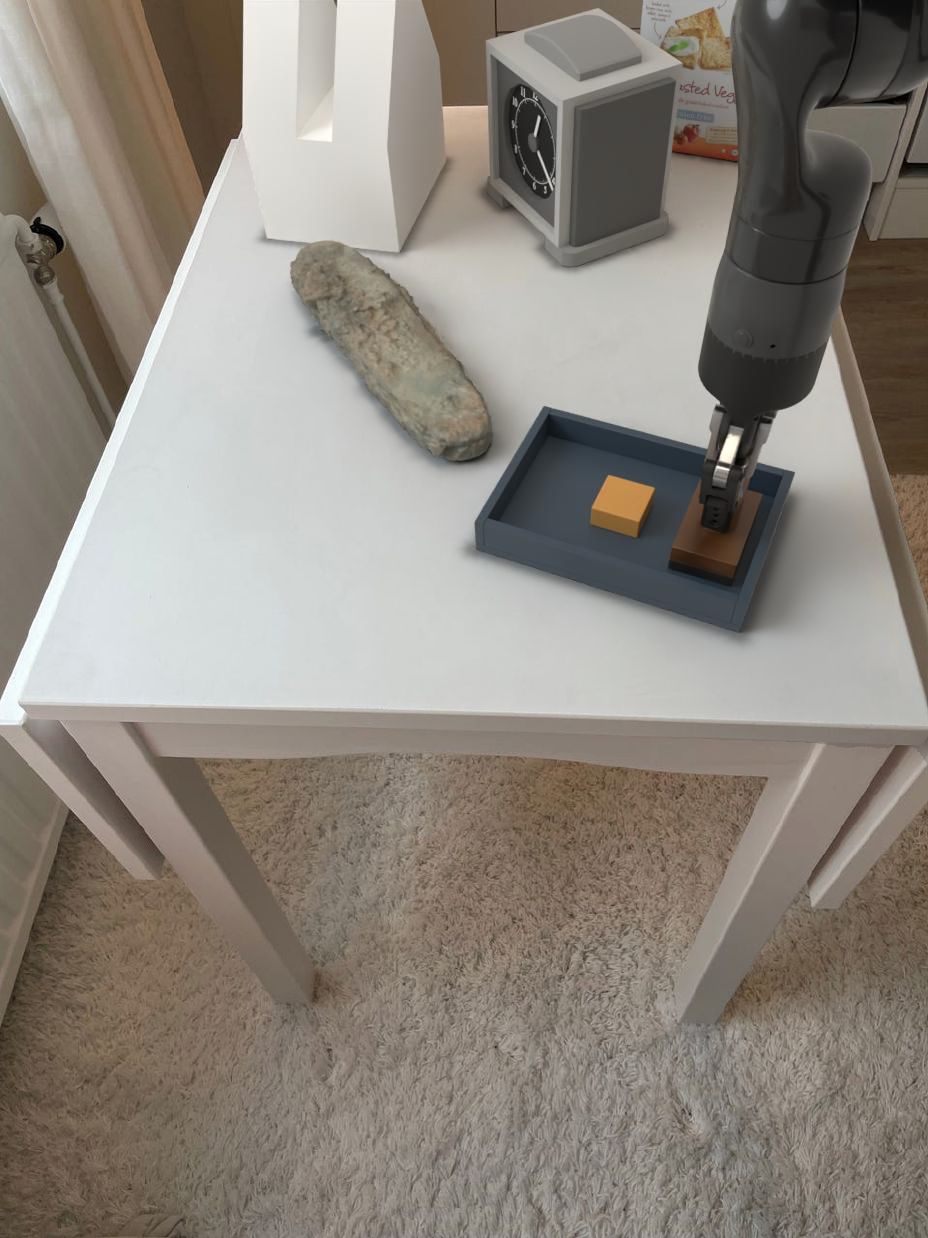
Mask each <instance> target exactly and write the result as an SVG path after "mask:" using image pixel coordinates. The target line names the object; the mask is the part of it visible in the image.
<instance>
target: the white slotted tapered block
mask: <svg viewBox="0 0 928 1238" xmlns="http://www.w3.org/2000/svg"><path fill="white" fill-rule="evenodd" d="M242 3H243V8H242V9H243V10H242V16H243V17H242V20H243V21H242V135H241V136H242V138H243V142H244V147H245V151H246V156H247V159H248V164H249V168H250V172H251V176H252V181H253V184H254V185H253V186H254V189H255V193H256V194H255V195H256V197H257V202H258V206H259V210H260V215H261V220H262V223H263V227H264V233H265V236H266V239H268V240H276V241H278V240H279V241H287V242H296V243H306V244H311V243H313V242H316V241H326V240H329V241H335V242H340V243H343V244H345V245H347V246H349V247H350V248H352V249H361V250H368V251H369V250H370V251H380V252H390V253H397V254H400V252H401V250H402V248H403V247H404V244H405V242H406V241H407V238H408V236H409V234H410V232H411V230H412V229H413V227H414V224H415V223H416V221H417V219H418V217H419V215H420V214H421V211H422V210H423V208H424V205H425V203H426V201H427V199H428V197H429V196H430V193H431V192H432V190H433V187H434V186H435V184H436V182H437V180H438V178H439V176H440V174H441V172H442V170H443V168H444V166H445V164H446V162H447V153H446V151H447V150H446V135H445V122H444V120H445V119H444V107H443V94H442V93H443V92H442V91H443V90H442V77H441V64H440V63H441V61H440V56H439V52H438V48H437V45H436V42H435V39H434V36H433V32H432V30H431V27H430V24H429V20H428V16H427V13H426V11H425V7H424V4H423V1H422V0H336V3H335V1H334V0H243V2H242Z"/></svg>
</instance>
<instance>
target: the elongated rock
mask: <svg viewBox="0 0 928 1238" xmlns="http://www.w3.org/2000/svg"><path fill="white" fill-rule="evenodd" d="M289 265H290V270H289V275H290V279H291V280H290V283H291V285H292V288H293V289H294V290H295V292H296V293H297V294H298V295H299V297H300V298H301V299H300V300H301V303H302V305H304V306H305V307H306V309H307V311H308V315H309V316H313V317H314V319H315V321H316V322H317V323H319V326H318V330H319V331H323V332H324V333H325V335H327V337H328V338H330V339H332V340H333V343H334V344H335V346H336V347H337V348H338V349H339V350H340V352H341V353H342V354H343V356H344V357H345V358H347V360H348V361H349V362H350V363H351V364H352V365H353V367H354V370H355V371H356V373H357V374H358V376H359V378H360V379H362V380H364V383H365V385H366V388H367V391H368V392H369V393H370V394H372V395H373V396H374V397H375V398H376V400H378V401H379V402H380V404H381V406H382V407H385V408H386V409H387V410H388V412H389V413H391V414H392V416H393V417H394V419H395V420H396V422H397V423H398V424H399V425H400V427H402V430H403V431H406V432H407V433H408V435H409V436H410V437H411V438H412V439H413V440H415V441H416V442H417V443H418V444H419V445H420V448H421V449H426V450H429V451H430V452H431V454H432V456H433V457H435V458H436V457H441V458H443V459H445V460H447V461H453V462H455V461H460V462H461V461H468V460H472V459H474V458H476V457H479V456H481V455H482V454H484V453H485V452H487V451H488V448H489V446H490V445H491V443H492V440H493V437H494V432H493V423H492V416H491V413H490V411H489V409H488V404H487V402H486V401H485V399H484V398H485V397H484V396H483V393H482V392H481V391H479V389H478V388H477V387H476V385H474V383H473V380H471V379H470V378H469V377H468V376H467V374H466V372H465V369H464V365H463V363H462V362H461V361H460V360H459V359H457V357H456V356H454V355H453V354H452V353H451V351H450V350H448V348H447V347H446V346H445V344H444V342H443V341H442V339H441V338H440V337H439V334H438V333H437V332H436V331H435V329H434V327H433V325H432V324H431V323H430V322H429V321H428V320H427V319H426V318H425V317H424V316H423V314H422V313H421V312H420V307H418V306H417V305H416V303H415V302H414V296H413V295H410V293H409V290H407V289H406V288H405V287H404V286H402V285H401V284H400V283H397V282H395V280H394V279H393V278H392V277H391V275H390V273H389V272H386V271H385V270H384V269H382V268H379V267H378V266H377V265H376V264H375V263H374V262H373V261H372V260H371V258H370V257H368V256H365V255H363V254H361V253H360V252H359V251H358V250H356V249H355V248H351V247H349V246H347V245H345V244H343V243H340V242H335V241H329V240H326V241H316V242H313V243H306V244H305V245H304V246H302V247H301V248H300V249H299V251H298V252H297V254H296V257H295V259H294V260H293V261H290V263H289Z"/></svg>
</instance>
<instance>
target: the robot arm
mask: <svg viewBox="0 0 928 1238" xmlns="http://www.w3.org/2000/svg"><path fill="white" fill-rule="evenodd" d="M730 54H731V65H732V74H733V83H734V92H735V101H736V114H737V138H738V161H737V182H736V183H737V184H736V191H735V193H734V198H733V203H732V209H731V215H730V220H729V223H728V224H729V225H728V229H727V234H726V240H725V244H724V249H723V252H722V255H721V258H720V260H719V262H718V266H717V269H716V272H715V276H714V280H713V285H712V289H711V295H710V300H709V305H708V310H707V316H706V320H705V326H704V331H703V337H702V342H701V347H700V353H699V358H698V363H697V372H698V373H697V374H698V377H699V380H700V382H701V384H702V385H703V387H704V389H705V390H706V391H707V392H708V393H709V394H710V395H711V396H712V397H714V398H715V399H716V400H717V401H718V402H719V403H716V404H715V405H714V408H713V411H712V414H711V418H710V422H709V425H708V428H709V429H708V430H709V431H710V433H711V434H710V438H709V442H708V446H707V449H708V450H707V454H706V458H705V463H703V464H702V467H701V471H702V474H701V485H700V494H699V497H698V498H699V503H700V504H703V505H704V507H703V512H702V516H701V520H700V524H701V525H702V526H703V527H704V528H707V529H711V530H715V531H718V532H722V533H726V532H728V531H729V529H730V526H731V524H732V520H733V516H734V513H735V509H736V508H737V506H738V503H739V501H738V500H739V497H740V498H741V497H742V494H743V491H742V488H743V484H744V481H745V479H746V478H750V477H751V476H752V475H753V473H754V471H755V468H756V465H757V462H758V463H759V459H760V455H761V452H762V450H763V449H762V448H763V446H764V445H765V444H766V443H767V441H768V439H769V436H770V434H771V431H772V428H773V424H774V421H775V419H776V418H777V415H778V412H780V411H782V410H786V409H789V408H791V407H793V406H796V405H798V404H799V403H801V402H802V401H803V400H805V399H806V398H807V397H808V396H809V395H810V393H812V391H813V389H814V386H815V384H816V381H817V378H818V375H819V371H820V369H821V366H822V362H823V359H824V356H825V353H826V350H827V347H828V343H829V341H830V337H831V334H832V330H833V327H834V325H835V322H836V318H837V315H838V311H839V309H840V305H841V302H842V298H843V293H844V289H845V285H846V277H847V271H848V265H849V262H850V259H851V255H852V252H853V249H854V246H855V242H856V239H857V236H858V232H859V229H860V227H861V224H862V219H863V216H864V212H865V211H866V207H867V204H868V200H869V197H870V194H871V188H872V182H873V163H872V160H871V158H870V156H869V154H868V152H867V151H866V150H865V149H864V148H863V147H862V146H861V145H860V144H859V143H857V142H855V141H854V140H852V139H849V138H848V137H845V136H843V135H841V134H839V133H834V132H831V131H830V132H829V131H825V130H819V129H811V128H808V124H809V121H810V118H811V116H812V114H813V112H814V110H822V109H829V108H834V107H841V106H847V105H853V104H854V105H855V104H861V103H867V102H874V101H882V100H888V99H892V98H897V97H900V96H902V95H905V94H908V93H909V92H912V91H913V90H915V89H916V88H918V87H920V86H922V85H923V84H925V83H926V82H927V81H928V0H737V1H736V4H735V7H734V11H733V15H732V20H731V28H730ZM748 456H750V457H749V458H748ZM745 457H747V458H745Z"/></svg>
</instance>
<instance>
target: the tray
mask: <svg viewBox="0 0 928 1238" xmlns="http://www.w3.org/2000/svg"><path fill="white" fill-rule="evenodd" d="M707 450H708V448H706V447H703V446H702V447H701V446H698V445H694V444H690V443H687V442H682V441H678V440H676V439H671V438H668V437H663V436H660V435H656V434H652V433H649V432H644V431H640V430H637V429H633V428H630V427H626V426H623V425H622V426H621V425H618V424H615V423H610V422H607V421H603V420H599V419H595V418H592V417H588V416H585V415H580V414H576V413H574V412H573V413H572V412H570V411H569V412H568V411H565V410H560V409H558V408H554V407H551V406H547V405H543V406H542V408H541V409H540V411H539V413H538V415H537V416H536V418H535V419H534V421H533V423H532V425H531V426H530V428H529V430H528V431H527V433H526V435H525V437H523V439H522V442H521V443H520V445H519V447H518V449H517V450H516V451H515V453H514V454H513V456H512V458H511V460H510V462H509V463H508V465H507V467H506V468H505V470H504V471H503V473H502V475H501V477H500V478H499V480H498V481H497V484H496V485H495V487H494V488H493V490H492V492H491V494H490V495H489V497H488V498H487V500H486V502H485V504H484V505H483V507H482V508H481V510H480V512H479V514H478V515H477V517H476V518H475V520H474V522H473V523H474V537H475V549H476V550H477V551H481V552H484V553H487V554H489V555H494V556H497V557H500V558H503V559H506V560H510V561H512V562H515V563H519V564H522V565H525V566H528V567H531V568H534V569H538V570H541V571H545V572H547V573H551V574H554V575H557V576H560V577H563V578H566V579H570V580H572V581H576V582H579V583H582V584H585V585H588V586H592V587H595V588H596V589H597V588H598V589H601V590H604V591H607V592H610V593H613V594H617V595H620V596H622V597H627V598H630V599H632V600H636V601H639V602H642V603H645V604H648V605H651V606H655V607H657V608H660V609H664V610H668V611H670V612H673V613H676V614H680V615H682V616H686V617H689V618H692V619H695V620H699V621H702V622H705V623H708V624H710V625H714V626H717V627H720V628H724V629H727V630H731V631H732V632H733V631H734V632H736V633H739V632H740V631H741V629H742V627H743V623H744V620H745V617H746V615H747V612H748V609H749V606H750V603H751V600H752V597H753V595H754V592H755V589H756V588H757V587H756V586H757V583H758V581H759V578H760V576H761V573H762V569H763V567H764V565H765V562H766V559H767V555H768V553H769V550H770V547H771V544H772V541H773V539H774V537H775V536H774V535H775V533H776V530H777V528H778V524H779V523H780V519H781V516H782V513H783V511H784V509H785V505H786V503H787V499H788V496H789V493H790V489H791V487H792V484H793V481H794V478H795V474H796V471H793V470H789V469H785V468H782V467H777V466H773V465H771V464H767V463H762V462H759V461H758V462H757V465H756V468H755V471H754V473H753V475H752V476H751V477H750V481H749V485H748V488H747V490H750V491H753V492H757V493H761V494H763V496H762V500H761V503H760V507H759V510H758V513H757V517H756V519H755V522H754V525H753V528H752V530H751V533H750V536H749V539H748V542H747V544H746V547H745V550H744V553H743V555H742V558H741V561H740V564H739V566H738V569H737V572H736V575H735V577H734V580H733V583H732V586H727V585H724V584H721V583H717V582H714V581H711V580H707V579H704V578H700V577H697V576H694V575H690V574H687V573H684V572H680V571H677V570H674V569H670V568H668V563H669V558H670V553H671V548H672V545H673V542H674V540H675V538H676V535H677V533H678V531H679V528H680V526H681V523H682V521H683V519H684V516H685V514H686V512H687V509H688V507H689V504H690V502H691V500H692V497H693V495H694V493H695V490H696V488H697V485H698V483H699V481H700V478H701V474H702V471H701V467H702V464H703V463H705V458H706V454H707ZM608 475H611V476H615V477H618V478H622V479H625V480H629V481H632V482H636V483H639V484H643V485H647V486H650V487H654V488H655V493H654V499H653V505H652V507H651V509H650V512H649V514H648V516H647V518H646V520H645V522H644V525H643V527H642V529H641V531H640V533H639V535H638V537H637V538H635V537H631V536H628V535H625V534H621V533H618V532H615V531H611V530H608V529H605V528H601V527H598V526H594V525H591V524H590V521H591V509H592V506H593V504H594V502H595V500H596V498H597V496H598V494H599V492H600V490H601V488H602V486H603V484H604V482H605V480H606V479H607V477H608Z"/></svg>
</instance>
